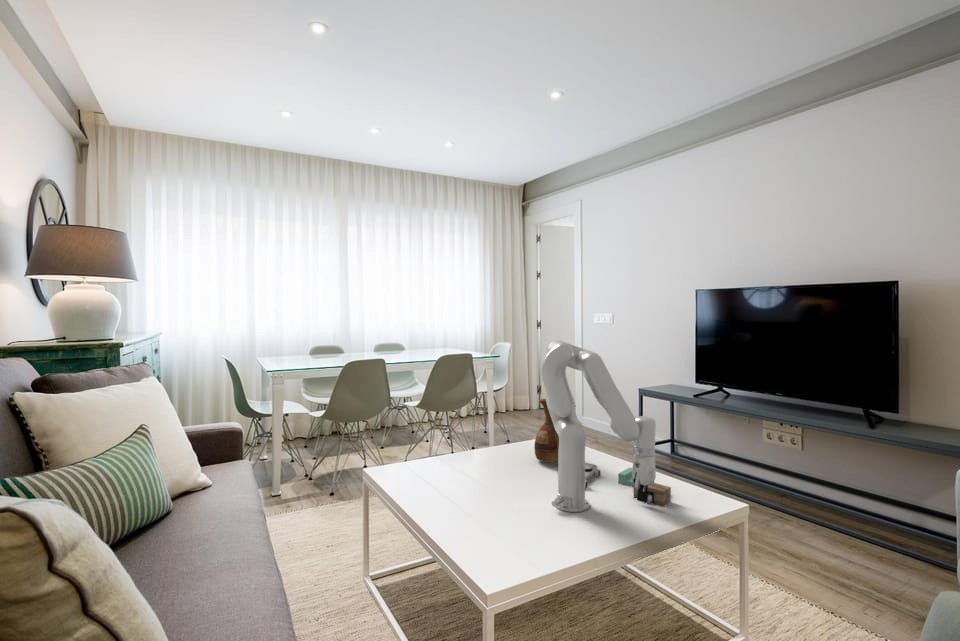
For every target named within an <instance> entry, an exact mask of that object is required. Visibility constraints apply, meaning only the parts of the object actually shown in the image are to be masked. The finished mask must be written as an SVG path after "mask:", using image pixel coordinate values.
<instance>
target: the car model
mask: <svg viewBox="0 0 960 641" xmlns="http://www.w3.org/2000/svg"><path fill="white" fill-rule="evenodd" d="M599 476H600V477H601V469H599V468H598V466H597V465H596V464H594V463H591V462H590V463H589V462H588V463H587V462H585V490H586V489H588V487H589V484H591V482H593V481H595V480H598V479H599V478H600V477H599ZM594 479H595V480H594Z"/></svg>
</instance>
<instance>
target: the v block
mask: <svg viewBox="0 0 960 641" xmlns="http://www.w3.org/2000/svg"><path fill="white" fill-rule="evenodd" d="M632 468H633V467H627V468H626V469H624V470H622V471H620V472H618V473H617V477H618V478H617V480H618V481H617V482H618V484H620V483H621V484H620V485H623V484H625V486H627V485H629V486H628V487H631V486H632V487H631V488H634V483H633V481H632ZM653 483H655V480H654V481H653Z"/></svg>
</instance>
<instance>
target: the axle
mask: <svg viewBox="0 0 960 641" xmlns="http://www.w3.org/2000/svg"><path fill="white" fill-rule="evenodd" d="M652 502H654V493H652V492H648V501H647V502H646V503H647V505H648V504H651V503H652ZM646 503H645V504H646Z"/></svg>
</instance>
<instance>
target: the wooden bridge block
mask: <svg viewBox="0 0 960 641" xmlns="http://www.w3.org/2000/svg"><path fill="white" fill-rule="evenodd" d="M671 490H672V487H671V486H669V485H663V484H659V483H658V482H657V483H656V482H654V483H653V482H651V483H649V489H648V490H647V491H648V492H652V493H654V501H653V504H654V505H657V506H661V507H663V506H664V507H666V506H667V505H668V504H670V503H671V499H672V498H671V497H672V496H671V495H672V494H671V493H672V492H671ZM637 493H638V490H637V488H635V483H634V487H633V499H636V498H637ZM669 502H670V503H669ZM665 505H666V506H665Z"/></svg>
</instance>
